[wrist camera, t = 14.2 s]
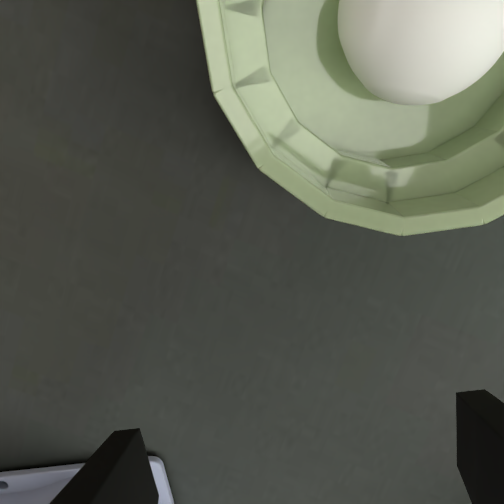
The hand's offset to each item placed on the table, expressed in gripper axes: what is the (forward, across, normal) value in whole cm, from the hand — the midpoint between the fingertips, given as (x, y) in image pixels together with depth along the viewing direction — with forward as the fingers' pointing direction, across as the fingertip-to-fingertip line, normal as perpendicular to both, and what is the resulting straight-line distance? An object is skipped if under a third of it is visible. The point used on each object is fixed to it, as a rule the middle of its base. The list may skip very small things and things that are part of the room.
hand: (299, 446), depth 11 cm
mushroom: (+9, -5, -9) cm, 14 cm away
